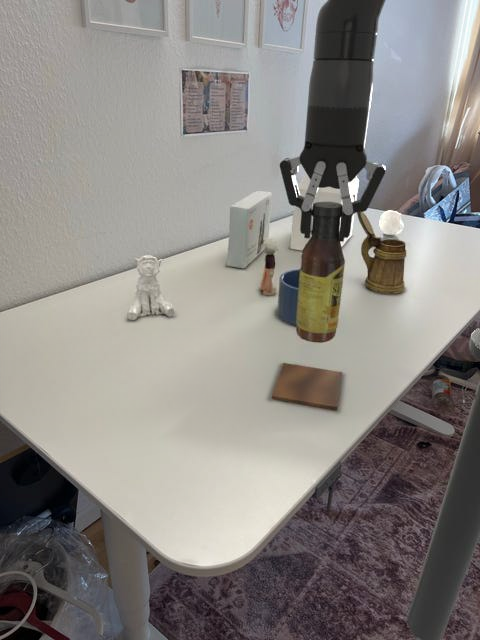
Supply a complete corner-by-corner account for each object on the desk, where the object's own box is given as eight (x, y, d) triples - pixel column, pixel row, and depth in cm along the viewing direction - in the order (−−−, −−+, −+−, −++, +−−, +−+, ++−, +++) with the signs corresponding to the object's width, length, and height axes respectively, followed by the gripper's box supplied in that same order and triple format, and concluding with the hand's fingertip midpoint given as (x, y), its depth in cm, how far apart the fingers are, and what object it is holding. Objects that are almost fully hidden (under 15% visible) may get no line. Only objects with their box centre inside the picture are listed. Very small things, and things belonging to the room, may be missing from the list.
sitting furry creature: (127, 321, 96) (122, 265, 91) (125, 303, 103) (120, 250, 98) (174, 317, 98) (172, 261, 93) (168, 299, 106) (166, 247, 100)
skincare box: (246, 269, 123) (248, 208, 116) (226, 266, 125) (227, 206, 117) (270, 246, 141) (273, 191, 134) (252, 243, 142) (254, 189, 135)
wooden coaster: (341, 374, 81) (341, 371, 80) (336, 410, 72) (337, 407, 72) (283, 365, 83) (283, 362, 83) (271, 398, 74) (271, 395, 74)
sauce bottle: (336, 347, 70) (352, 212, 61) (293, 342, 71) (303, 209, 62) (336, 326, 76) (351, 200, 66) (296, 322, 76) (306, 197, 67)
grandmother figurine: (256, 286, 114) (258, 234, 108) (271, 285, 114) (274, 233, 109) (264, 299, 107) (266, 245, 101) (280, 298, 108) (284, 244, 102)
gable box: (311, 229, 157) (320, 139, 144) (351, 235, 152) (364, 142, 139) (289, 249, 138) (297, 147, 126) (334, 256, 134) (347, 151, 121)
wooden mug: (350, 274, 122) (359, 204, 113) (405, 283, 117) (419, 210, 109) (343, 287, 114) (353, 213, 106) (402, 297, 110) (417, 220, 102)
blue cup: (336, 306, 105) (340, 272, 101) (331, 331, 94) (335, 294, 91) (282, 299, 107) (285, 266, 104) (272, 323, 97) (274, 286, 93)
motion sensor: (401, 239, 149) (406, 215, 146) (376, 236, 151) (380, 212, 148) (401, 232, 156) (405, 208, 153) (377, 230, 158) (381, 206, 155)
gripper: (275, 102, 57) (268, 241, 65) (400, 106, 54) (377, 252, 61) (286, 99, 63) (279, 226, 71) (398, 103, 60) (377, 235, 68)
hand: (324, 237), depth 66 cm, fingers closed on sauce bottle, 4 cm apart
